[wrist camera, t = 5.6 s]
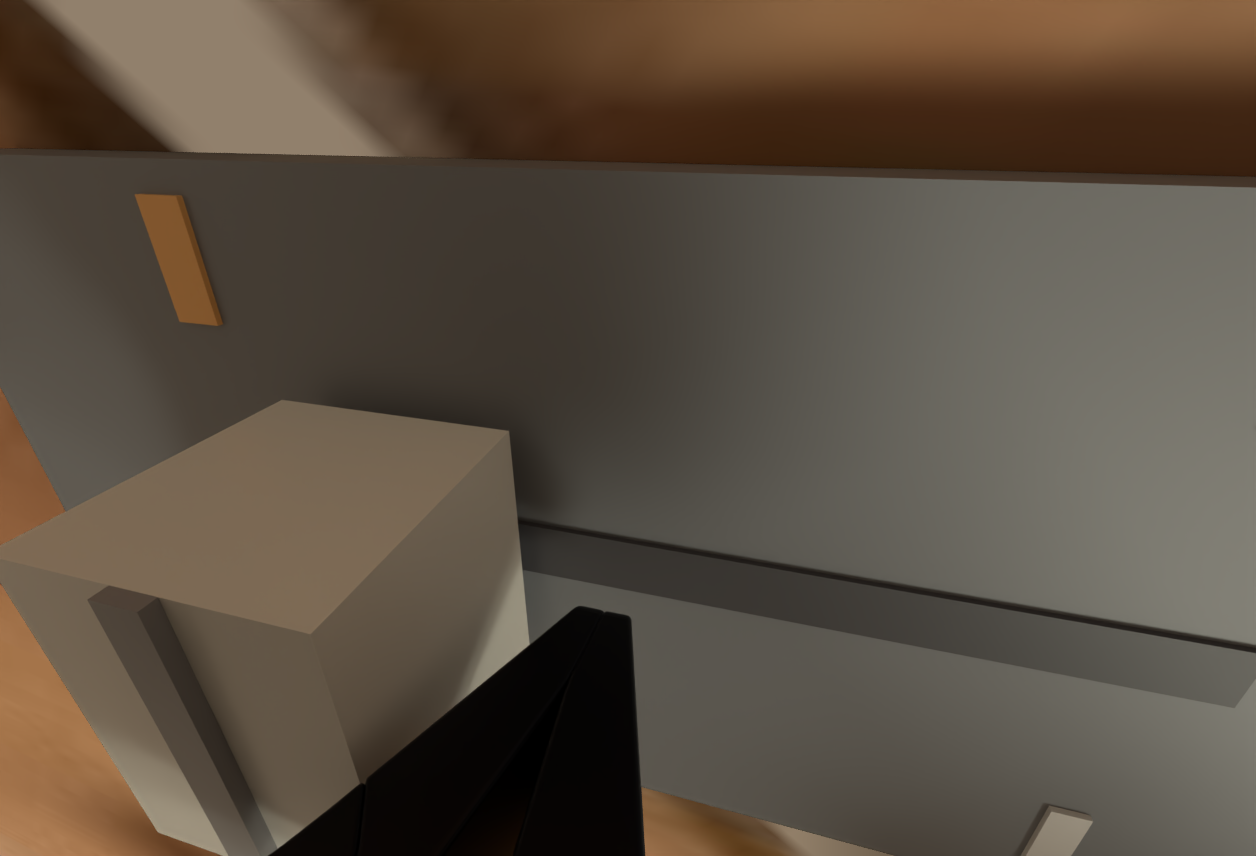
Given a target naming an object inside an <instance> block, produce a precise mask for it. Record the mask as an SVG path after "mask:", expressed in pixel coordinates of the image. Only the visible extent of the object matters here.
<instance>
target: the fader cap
mask: <svg viewBox="0 0 1256 856" xmlns="http://www.w3.org/2000/svg"><path fill="white" fill-rule="evenodd" d="M0 583H1V585H2V586H3V588H4V589H5V591H6V593H7V594H8V596H9V597H10V599H11V600H12V602H13V604H14V605H15V607H16V608H17V610H18V612H19V613H20V615H21V616H22V618H23V619H24V621H25V623H26V624H27V626H28V627H29V629H30V631H31V632H32V634H33V635H34V637H35V638H36V640H37V642H38V643H39V645H40V646H41V648H42V650H43V651H44V653H45V654H46V656H47V657H48V659H49V661H50V662H51V664H52V665H53V667H54V669H55V670H56V672H57V673H58V675H59V676H60V678H61V680H62V681H63V683H64V684H65V686H66V688H67V689H68V691H69V692H70V694H71V695H72V697H73V699H74V700H75V702H76V703H77V705H78V707H79V708H80V710H81V711H82V713H83V714H84V716H85V718H86V719H87V721H88V722H89V724H90V726H91V727H92V729H93V730H94V732H95V733H96V735H97V737H98V738H99V740H100V741H101V743H102V745H103V746H104V748H105V749H106V751H107V752H108V754H109V756H110V757H111V759H112V760H113V762H114V764H115V765H116V767H117V768H118V770H119V772H120V773H121V775H122V776H123V778H124V779H125V781H126V783H127V784H128V786H129V787H130V789H131V791H132V792H133V794H134V795H135V797H136V798H137V800H138V802H139V803H140V805H141V806H142V808H143V810H144V811H145V813H146V814H147V816H148V817H149V819H150V821H151V822H152V824H153V825H154V827H155V829H156V830H157V832H158V833H161V834H164V835H166V836H169V837H172V838H175V839H177V840H180V841H183V842H186V843H189V844H191V845H194V846H197V847H200V848H203V849H205V850H208V851H211V852H214V853H217V854H219V855H222V856H268V855H269V854H271V853H272V852H274V851H275V850H276V849H278V848H279V847H280V846H282V845H283V844H285V843H286V842H287V841H288V840H290V839H291V838H292V837H293V836H295V835H296V834H297V833H299V832H300V831H301V830H302V829H304V828H305V827H306V826H307V825H309V824H310V823H311V822H313V821H314V820H315V819H316V818H318V817H319V816H320V815H321V814H323V813H324V812H325V811H327V810H328V809H329V808H330V807H332V806H333V805H334V804H335V803H336V802H338V801H339V800H340V799H341V798H343V797H344V796H345V795H346V794H347V793H349V792H350V791H351V790H352V789H354V788H355V787H356V786H357V785H358V784H360V783H364V784H365V782H366V779H367V777H369V776H370V775H371V774H372V773H373V772H375V771H376V770H377V769H378V768H380V767H381V766H382V765H383V764H384V763H386V762H387V761H388V760H389V759H391V758H392V757H393V756H394V755H395V754H397V753H398V752H399V751H400V750H402V749H403V748H404V747H405V746H406V745H408V744H409V743H410V742H411V741H413V740H414V739H415V738H416V737H417V736H419V735H420V734H421V733H422V732H423V731H425V730H426V729H427V728H428V727H430V726H431V725H432V724H433V723H434V722H436V721H437V720H438V719H439V718H441V717H442V716H443V715H444V714H445V713H447V712H448V711H449V710H450V709H452V708H453V707H454V706H455V705H456V704H458V703H459V702H460V701H461V700H463V699H464V698H465V697H466V696H467V695H469V694H470V693H471V692H472V691H473V690H475V689H476V688H477V687H478V686H480V685H481V684H482V683H483V682H484V681H486V680H487V679H488V678H489V677H491V676H492V675H493V674H494V673H495V672H497V671H498V670H499V669H500V668H502V667H503V666H504V665H505V664H506V663H508V662H509V661H510V660H511V659H513V658H514V657H515V656H516V655H517V654H519V653H520V652H521V651H522V650H523V649H525V648H526V647H527V646H528V645H530V644H529V634H528V623H527V613H526V603H525V592H524V582H523V571H522V561H521V550H520V540H519V529H518V519H517V509H516V498H515V488H514V477H513V467H512V456H511V446H510V435H509V431H506V430H499V429H491V428H484V427H477V426H469V425H462V424H455V423H447V422H440V421H433V420H426V419H418V418H411V417H404V416H396V415H389V414H382V413H374V412H367V411H360V410H353V409H345V408H338V407H331V406H323V405H316V404H309V403H301V402H294V401H287V400H281V401H279V402H277V403H275V404H273V405H271V406H269V407H267V408H265V409H263V410H261V411H259V412H257V413H255V414H254V415H252V416H250V417H248V418H246V419H244V420H242V421H240V422H238V423H236V424H234V425H232V426H230V427H228V428H226V429H225V430H223V431H221V432H219V433H217V434H215V435H213V436H211V437H209V438H207V439H205V440H203V441H201V442H199V443H197V444H196V445H194V446H192V447H190V448H188V449H186V450H184V451H182V452H180V453H178V454H176V455H174V456H172V457H170V458H168V459H166V460H165V461H163V462H161V463H159V464H157V465H155V466H153V467H151V468H149V469H147V470H145V471H143V472H141V473H139V474H137V475H136V476H134V477H132V478H130V479H128V480H126V481H124V482H122V483H120V484H118V485H116V486H114V487H112V488H110V489H108V490H107V491H105V492H103V493H101V494H99V495H97V496H95V497H93V498H91V499H89V500H87V501H85V502H83V503H81V504H79V505H78V506H76V507H74V508H72V509H70V510H68V511H66V512H64V513H62V514H60V515H58V516H56V517H54V518H52V519H50V520H49V521H47V522H45V523H43V524H41V525H39V526H37V527H35V528H33V529H31V530H29V531H27V532H25V533H23V534H21V535H19V536H18V537H16V538H14V539H12V540H10V541H8V542H6V543H4V544H2V545H0Z"/></svg>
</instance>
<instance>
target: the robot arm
mask: <svg viewBox="0 0 1256 856" xmlns="http://www.w3.org/2000/svg"><path fill="white" fill-rule="evenodd" d="M268 856H645V843H644V826H643V809H642V792H641V774H640V757H639V740H638V723H637V705H636V688H635V671H634V654H633V636H632V621H631V618H630V617H629V616H628V615H624V614H619V613H614V612H609V611H606V612H604V611H602V610H600V609H595V608H590V607H585V606H577V607H575V608H574V609H572V610H571V611H570V612H569V613H567V614H566V615H565V616H564V617H563V618H561V619H560V620H559V621H558V622H556V623H555V624H554V625H553V626H552V627H550V628H549V629H548V630H547V631H545V632H544V633H543V634H542V635H541V636H539V637H538V638H537V639H536V640H534V641H533V642H532V643H531V644H530V645H528V646H527V647H526V648H525V649H523V650H522V651H521V652H520V653H519V654H517V655H516V656H515V657H514V658H513V659H511V660H510V661H509V662H508V663H506V664H505V665H504V666H503V667H502V668H500V669H499V670H498V671H497V672H495V673H494V674H493V675H492V676H491V677H489V678H488V679H487V680H486V681H484V682H483V683H482V684H481V685H480V686H478V687H477V688H476V689H475V690H473V691H472V692H471V693H470V694H469V695H467V696H466V697H465V698H464V699H463V700H461V701H460V702H459V703H458V704H456V705H455V706H454V707H453V708H452V709H450V710H449V711H448V712H447V713H445V714H444V715H443V716H442V717H441V718H439V719H438V720H437V721H436V722H434V723H433V724H432V725H431V726H430V727H428V728H427V729H426V730H425V731H423V732H422V733H421V734H420V735H419V736H417V737H416V738H415V739H414V740H413V741H411V742H410V743H409V744H408V745H406V746H405V747H404V748H403V749H402V750H400V751H399V752H398V753H397V754H395V755H394V756H393V757H392V758H391V759H389V760H388V761H387V762H386V763H384V764H383V765H382V766H381V767H380V768H378V769H377V770H376V771H375V772H373V773H372V774H371V775H370V776H369V777H367V779H366V782H365V784H364V783H360V784H358V785H357V786H356V787H355V788H354V789H352V790H351V791H350V792H349V793H347V794H346V795H345V796H344V797H343V798H341V799H340V800H339V801H338V802H336V803H335V804H334V805H333V806H332V807H330V808H329V809H328V810H327V811H325V812H324V813H323V814H321V815H320V816H319V817H318V818H316V819H315V820H314V821H313V822H311V823H310V824H309V825H307V826H306V827H305V828H304V829H302V830H301V831H300V832H299V833H297V834H296V835H295V836H293V837H292V838H291V839H290V840H288V841H287V842H286V843H285V844H283V845H282V846H280V847H279V848H278V849H276V850H275V851H274V852H272V853H271V854H269V855H268Z"/></svg>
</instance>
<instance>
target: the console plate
mask: <svg viewBox="0 0 1256 856" xmlns="http://www.w3.org/2000/svg"><path fill="white" fill-rule="evenodd" d="M0 387H1V389H2V391H3V393H4V395H5V397H6V398H7V400H8V402H9V404H10V406H11V408H12V410H13V412H14V414H15V416H16V418H17V419H18V421H19V423H20V425H21V427H22V429H23V431H24V433H25V435H26V437H27V438H28V440H29V442H30V444H31V446H32V448H33V450H34V452H35V454H36V456H37V457H38V459H39V461H40V463H41V465H42V467H43V469H44V471H45V473H46V475H47V476H48V478H49V480H50V482H51V484H52V486H53V488H54V490H55V492H56V494H57V495H58V497H59V499H60V501H61V503H62V505H63V507H64V509H65V511H68V510H70V509H72V508H74V507H76V506H78V505H79V504H81V503H83V502H85V501H87V500H89V499H91V498H93V497H95V496H97V495H99V494H101V493H103V492H105V491H107V490H108V489H110V488H112V487H114V486H116V485H118V484H120V483H122V482H124V481H126V480H128V479H130V478H132V477H134V476H136V475H137V474H139V473H141V472H143V471H145V470H147V469H149V468H151V467H153V466H155V465H157V464H159V463H161V462H163V461H165V460H166V459H168V458H170V457H172V456H174V455H176V454H178V453H180V452H182V451H184V450H186V449H188V448H190V447H192V446H194V445H196V444H197V443H199V442H201V441H203V440H205V439H207V438H209V437H211V436H213V435H215V434H217V433H219V432H221V431H223V430H225V429H226V428H228V427H230V426H232V425H234V424H236V423H238V422H240V421H242V420H244V419H246V418H248V417H250V416H252V415H254V414H255V413H257V412H259V411H261V410H263V409H265V408H267V407H269V406H271V405H273V404H275V403H277V402H279V401H281V400H287V401H294V402H301V403H309V404H316V405H323V406H331V407H338V408H345V409H353V410H360V411H367V412H374V413H382V414H389V415H396V416H404V417H411V418H418V419H426V420H433V421H440V422H447V423H455V424H462V425H469V426H477V427H484V428H491V429H499V430H506V431H509V435H510V446H511V456H512V467H513V477H514V488H515V498H516V509H517V519H518V529H519V540H520V550H521V561H522V571H523V582H524V592H525V603H526V613H527V623H528V634H529V644H531V643H532V642H533V641H534V640H536V639H537V638H538V637H539V636H541V635H542V634H543V633H544V632H545V631H547V630H548V629H549V628H550V627H552V626H553V625H554V624H555V623H556V622H558V621H559V620H560V619H561V618H563V617H564V616H565V615H566V614H567V613H569V612H570V611H571V610H572V609H574V608H575V607H577V606H585V607H590V608H595V609H600V610H602V611H604V612H606V611H609V612H614V613H619V614H624V615H628V616H629V617H630V618H631V621H632V636H633V654H634V671H635V688H636V705H637V723H638V740H639V757H640V774H641V787H644V788H647V789H651V790H655V791H659V792H662V793H666V794H670V795H673V796H677V797H681V798H684V799H688V800H692V801H695V802H699V803H703V804H706V805H710V806H714V807H717V808H721V809H725V810H729V811H732V812H736V813H740V814H743V815H747V816H751V817H754V818H758V819H762V820H765V821H769V822H773V823H776V824H780V825H784V826H787V827H791V828H795V829H798V830H802V831H806V832H810V833H813V834H817V835H821V836H824V837H828V838H832V839H835V840H839V841H843V842H846V843H850V844H854V845H857V846H861V847H865V848H868V849H872V850H876V851H880V852H883V853H887V854H891V855H894V856H1256V177H1246V176H1202V175H1158V174H1114V173H1070V172H1026V171H983V170H939V169H895V168H851V167H807V166H763V165H720V164H676V163H632V162H588V161H544V160H500V159H457V158H413V157H369V156H325V155H324V156H323V155H322V156H321V155H281V154H236V153H194V152H150V151H106V150H62V149H18V148H7V149H0Z"/></svg>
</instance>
